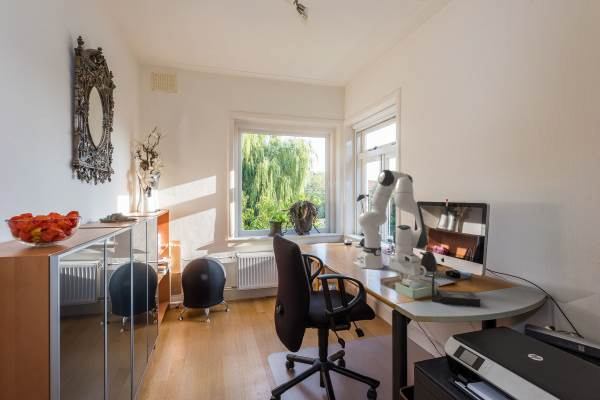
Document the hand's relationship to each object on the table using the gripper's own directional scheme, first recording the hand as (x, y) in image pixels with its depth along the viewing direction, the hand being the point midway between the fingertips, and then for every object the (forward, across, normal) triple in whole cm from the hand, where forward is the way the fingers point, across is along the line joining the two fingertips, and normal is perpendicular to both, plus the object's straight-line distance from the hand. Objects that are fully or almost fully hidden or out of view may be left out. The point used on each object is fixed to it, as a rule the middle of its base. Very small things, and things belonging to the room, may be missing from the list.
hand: (403, 280), depth 157 cm
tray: (+4, +9, 0) cm, 10 cm away
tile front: (0, +7, 0) cm, 7 cm away
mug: (+4, -8, +17) cm, 19 cm away
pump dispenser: (+4, -12, +32) cm, 34 cm away
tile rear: (+1, +4, 0) cm, 4 cm away
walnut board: (+4, -4, 0) cm, 6 cm away
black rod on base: (+5, +24, +8) cm, 26 cm away
